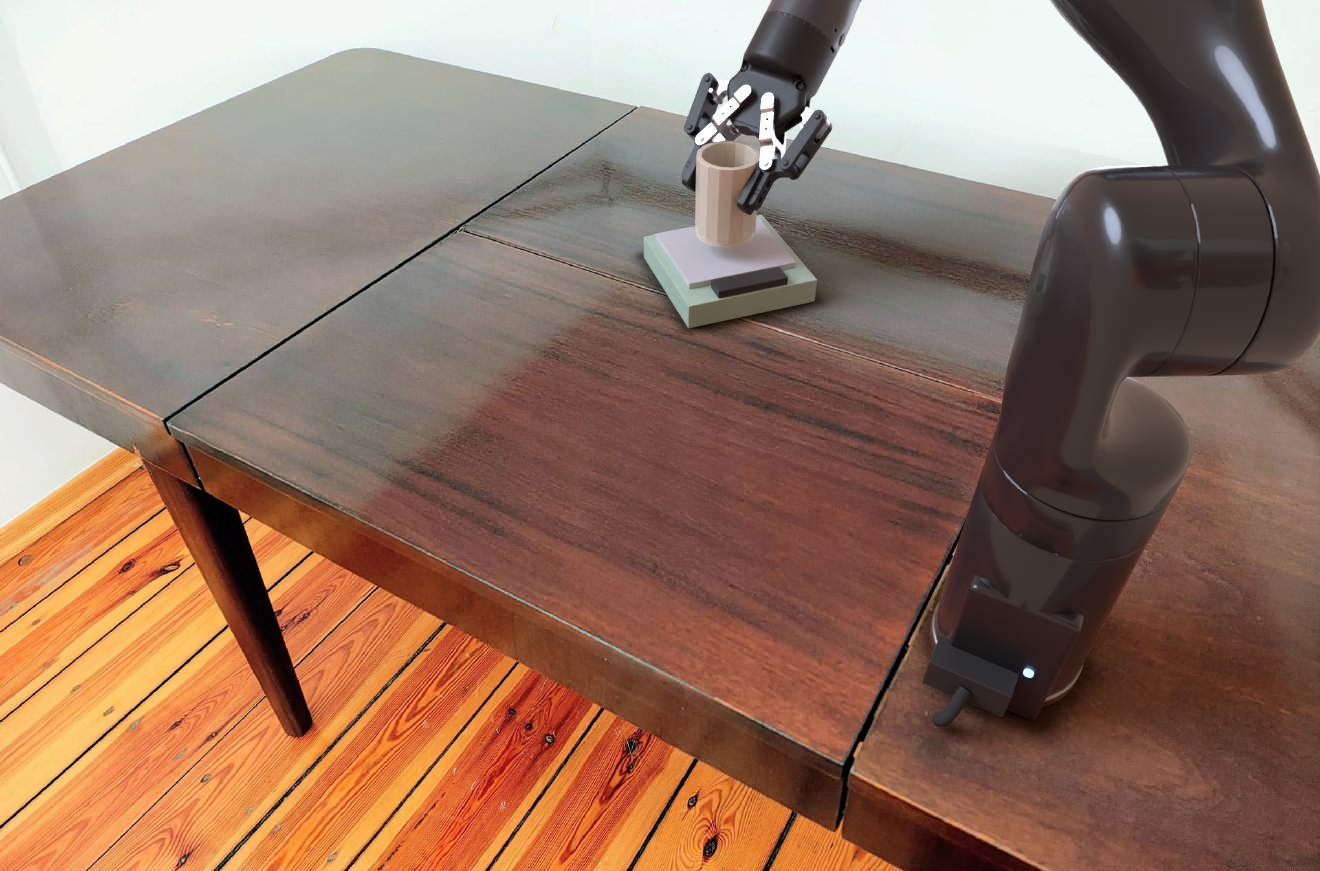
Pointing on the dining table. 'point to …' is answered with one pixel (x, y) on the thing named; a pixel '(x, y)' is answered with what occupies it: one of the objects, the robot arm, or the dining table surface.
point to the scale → (728, 275)
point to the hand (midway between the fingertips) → (715, 198)
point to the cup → (724, 193)
